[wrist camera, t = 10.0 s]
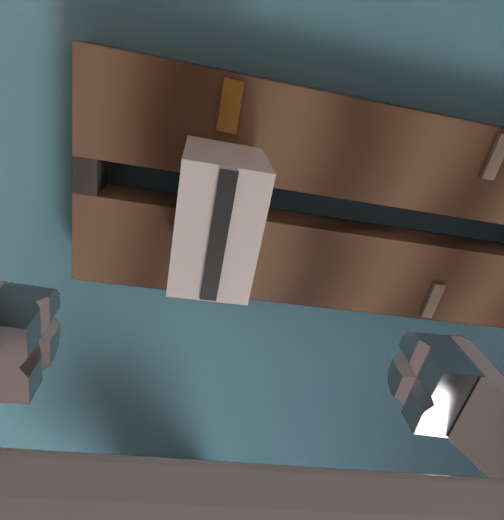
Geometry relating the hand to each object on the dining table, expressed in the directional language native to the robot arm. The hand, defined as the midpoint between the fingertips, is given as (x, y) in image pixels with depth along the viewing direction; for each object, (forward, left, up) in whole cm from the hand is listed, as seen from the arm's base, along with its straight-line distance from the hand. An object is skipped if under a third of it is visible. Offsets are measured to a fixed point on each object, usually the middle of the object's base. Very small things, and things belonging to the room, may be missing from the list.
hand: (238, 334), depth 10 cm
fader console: (-6, 0, -12) cm, 13 cm away
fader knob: (0, 0, -12) cm, 12 cm away
